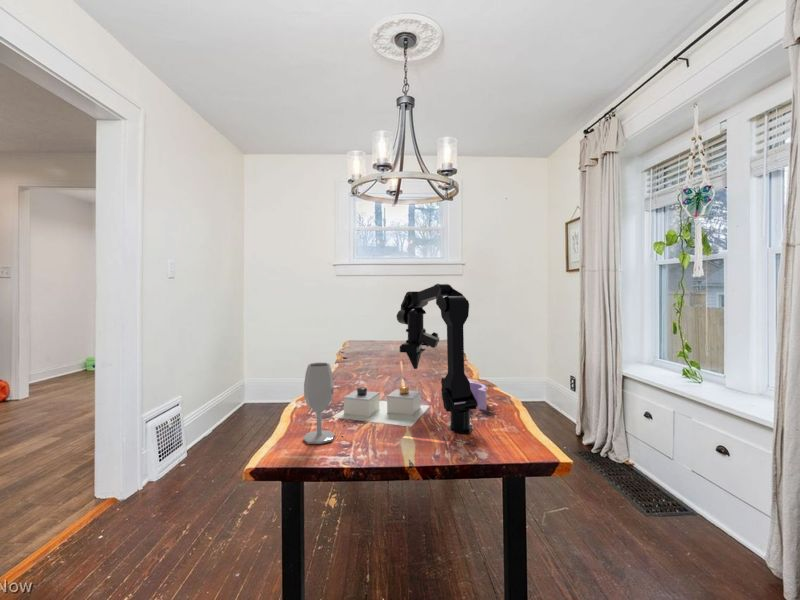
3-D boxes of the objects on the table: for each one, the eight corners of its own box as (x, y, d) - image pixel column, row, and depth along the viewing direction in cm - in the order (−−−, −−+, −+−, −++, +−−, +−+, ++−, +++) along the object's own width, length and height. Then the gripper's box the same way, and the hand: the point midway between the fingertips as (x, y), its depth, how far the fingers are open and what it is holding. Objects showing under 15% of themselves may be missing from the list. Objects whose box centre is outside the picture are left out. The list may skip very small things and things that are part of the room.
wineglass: (303, 446, 102) (303, 368, 101) (302, 434, 110) (302, 362, 109) (336, 443, 104) (336, 366, 103) (333, 431, 112) (333, 360, 112)
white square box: (412, 415, 125) (412, 398, 124) (387, 413, 128) (387, 395, 127) (421, 406, 134) (421, 390, 134) (397, 404, 137) (397, 388, 137)
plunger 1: (367, 413, 124) (367, 392, 124) (347, 411, 127) (347, 390, 127) (376, 407, 131) (376, 386, 131) (357, 405, 134) (357, 385, 133)
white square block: (368, 417, 123) (368, 399, 123) (343, 414, 126) (343, 397, 126) (381, 407, 133) (380, 391, 133) (357, 405, 136) (357, 389, 136)
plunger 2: (411, 412, 126) (411, 391, 126) (390, 410, 128) (390, 389, 128) (417, 406, 133) (417, 385, 132) (397, 404, 135) (397, 384, 135)
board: (411, 428, 115) (411, 426, 115) (331, 418, 124) (331, 416, 124) (430, 407, 136) (430, 405, 136) (360, 400, 145) (360, 398, 145)
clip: (442, 396, 151) (442, 378, 150) (472, 394, 153) (472, 377, 153) (458, 412, 131) (458, 392, 131) (493, 410, 133) (493, 390, 133)
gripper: (430, 329, 127) (430, 375, 128) (443, 324, 145) (443, 365, 145) (399, 328, 131) (399, 373, 131) (415, 323, 149) (415, 363, 149)
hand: (415, 368), depth 139 cm, fingers closed
